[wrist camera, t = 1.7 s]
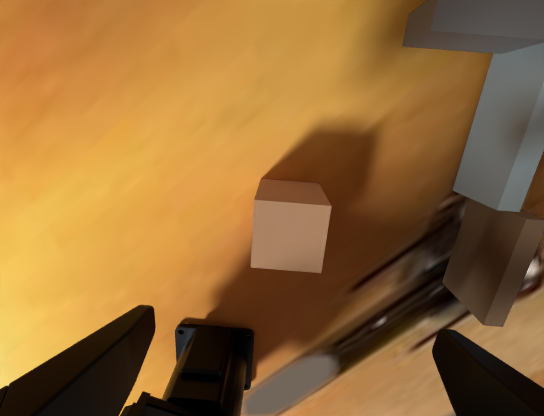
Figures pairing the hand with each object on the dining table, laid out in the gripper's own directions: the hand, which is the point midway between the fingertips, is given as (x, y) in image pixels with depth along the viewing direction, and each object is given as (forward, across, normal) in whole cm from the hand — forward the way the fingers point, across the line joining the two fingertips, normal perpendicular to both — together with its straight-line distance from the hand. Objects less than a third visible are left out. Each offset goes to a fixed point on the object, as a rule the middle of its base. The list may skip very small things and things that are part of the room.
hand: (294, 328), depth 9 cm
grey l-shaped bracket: (+11, -9, -7) cm, 16 cm away
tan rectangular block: (+12, 0, 0) cm, 12 cm away
